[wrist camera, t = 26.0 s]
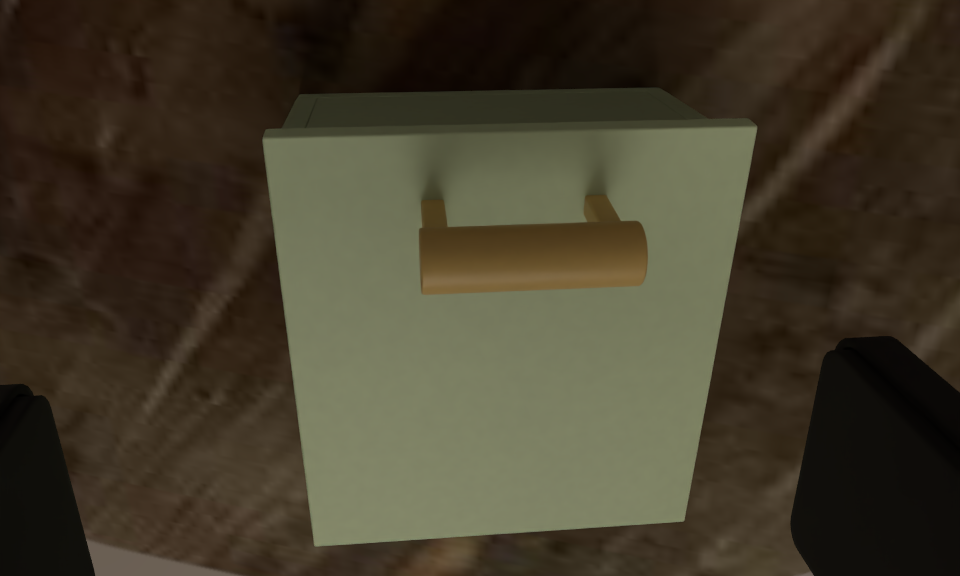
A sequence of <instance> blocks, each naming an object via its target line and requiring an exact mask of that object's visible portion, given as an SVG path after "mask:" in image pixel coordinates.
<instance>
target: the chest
mask: <svg viewBox="0 0 960 576" xmlns="http://www.w3.org/2000/svg"><path fill="white" fill-rule="evenodd" d="M688 119H708V118H706V117H705V116H703V115H702V114H700V113H698V112H697V111H695V110H694V109H692V108H691V107H689V106H688V105H686V104H684V103H683V102H681V101H680V100H678V99H677V98H675V97H674V96H672V95H670V94H669V93H667V92H666V91H663V90H662V89H660V88H658V87H654V88H601V89H548V90H495V91H442V92H389V93H336V94H300V95H299V96H298V98H297V99H296V101H295V103H294V105H293V107H292V109H291V111H290V113H289V115H288V117H287V119H286V121H285V123H284V125H283V126H282V128H281V129H289V128H333V127H377V126H422V125H466V124H510V123H555V122H599V121H643V120H688Z"/></svg>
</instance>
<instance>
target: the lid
mask: <svg viewBox="0 0 960 576" xmlns="http://www.w3.org/2000/svg"><path fill="white" fill-rule="evenodd" d="M756 132H757V125H755V124H754V123H753V122H752V121H751V120H749V119H748V118H732V119H688V120H643V121H599V122H555V123H510V124H466V125H422V126H377V127H333V128H289V129H266V130H265V133H264V135H263V138H262V142H263V150H264V157H265V165H266V173H267V181H268V189H269V196H270V204H271V212H272V220H273V228H274V235H275V243H276V251H277V259H278V267H279V275H280V282H281V290H282V298H283V306H284V314H285V321H286V329H287V337H288V345H289V353H290V360H291V368H292V376H293V384H294V392H295V400H296V407H297V415H298V423H299V431H300V439H301V446H302V454H303V462H304V470H305V478H306V486H307V493H308V501H309V509H310V517H311V525H312V532H313V540H314V545H315V546H330V545H344V544H359V543H374V542H388V541H403V540H418V539H432V538H447V537H462V536H477V535H491V534H506V533H521V532H535V531H550V530H565V529H579V528H594V527H609V526H623V525H638V524H653V523H667V522H682V521H684V519H685V514H686V508H687V503H688V498H689V492H690V487H691V482H692V476H693V471H694V465H695V460H696V455H697V449H698V444H699V439H700V433H701V428H702V422H703V417H704V412H705V406H706V401H707V396H708V390H709V385H710V379H711V374H712V369H713V363H714V358H715V353H716V347H717V342H718V336H719V331H720V326H721V320H722V315H723V310H724V304H725V299H726V293H727V288H728V283H729V277H730V272H731V267H732V261H733V256H734V250H735V245H736V240H737V234H738V229H739V223H740V218H741V213H742V207H743V202H744V197H745V191H746V186H747V180H748V175H749V170H750V164H751V159H752V154H753V148H754V143H755V137H756Z"/></svg>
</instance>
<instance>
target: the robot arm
mask: <svg viewBox="0 0 960 576" xmlns="http://www.w3.org/2000/svg"><path fill="white" fill-rule="evenodd" d="M791 533H792V538H793V541H794V544H795V546H796V548H797V550H798V551H799V553H800V554H801V556H802V558H803V559H804V561H805V562H806V564H807V565H808V567H809V569H810V570H811V572H812V573H813V575H814V576H960V393H959V392H958V391H957V390H956V389H955V388H953V387H952V386H951V385H950V384H949V383H948V382H946V381H945V380H944V379H943V378H942V377H941V376H939V375H938V374H937V373H936V372H935V371H933V370H932V369H931V368H930V367H929V366H928V365H926V364H925V363H924V362H923V361H922V360H921V359H919V358H918V357H917V356H916V355H915V354H913V353H912V352H911V351H910V350H909V349H908V348H906V347H905V346H904V345H903V344H902V343H901V342H899V341H898V340H897V339H895V338H893V337H891V336H879V337H861V338H845V339H843V340H841V341H840V342H839V343H838V345H837V346H836V349H835V350H832V351H829V352H827V354H826V355H825V357H824V359H823V362H822V367H821V372H820V376H819V381H818V386H817V391H816V396H815V401H814V406H813V411H812V416H811V421H810V426H809V431H808V436H807V441H806V446H805V451H804V455H803V460H802V465H801V470H800V475H799V480H798V485H797V490H796V495H795V500H794V505H793V510H792V515H791ZM0 576H95V573H94V568H93V564H92V560H91V557H90V553H89V549H88V545H87V541H86V538H85V534H84V530H83V526H82V523H81V519H80V515H79V511H78V508H77V504H76V500H75V496H74V493H73V489H72V485H71V481H70V478H69V474H68V470H67V466H66V463H65V459H64V455H63V451H62V448H61V444H60V440H59V436H58V432H57V429H56V425H55V421H54V417H53V414H52V410H51V407H50V404H49V401H48V400H47V399H46V397H44V396H42V395H40V396H34V395H33V392H32V391H31V390H30V388H29V387H28V386H26V385H24V384H12V385H0Z"/></svg>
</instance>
